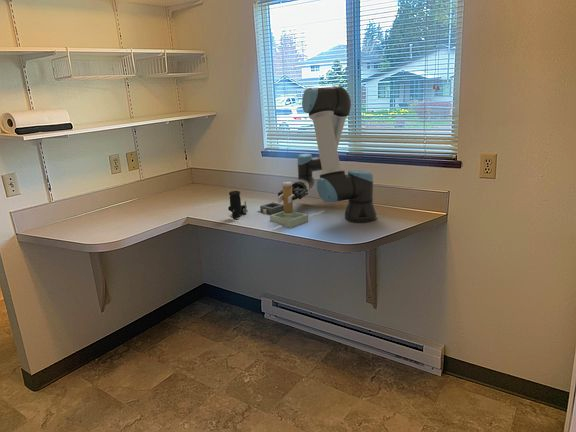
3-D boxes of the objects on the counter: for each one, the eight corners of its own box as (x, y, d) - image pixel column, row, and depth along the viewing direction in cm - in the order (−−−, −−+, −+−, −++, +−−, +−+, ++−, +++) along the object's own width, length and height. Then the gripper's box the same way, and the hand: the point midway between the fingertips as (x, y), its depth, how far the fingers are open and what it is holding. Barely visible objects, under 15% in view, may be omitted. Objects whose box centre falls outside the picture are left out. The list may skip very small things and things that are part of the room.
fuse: (295, 214, 214) (293, 182, 209) (288, 217, 211) (287, 184, 206) (288, 213, 217) (287, 181, 212) (281, 215, 214) (280, 183, 209)
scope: (246, 189, 225) (240, 194, 216) (248, 215, 229) (242, 221, 220) (230, 189, 227) (224, 194, 217) (233, 215, 231) (226, 220, 221)
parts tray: (308, 221, 214) (307, 214, 213) (290, 227, 206) (290, 220, 205) (287, 216, 224) (287, 209, 223) (270, 222, 216) (269, 215, 215)
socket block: (289, 212, 231) (288, 204, 230) (272, 217, 223) (271, 209, 222) (273, 208, 239) (272, 201, 238) (256, 213, 231) (256, 206, 230)
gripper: (316, 196, 226) (301, 208, 205) (284, 194, 231) (267, 206, 211) (315, 181, 223) (301, 193, 202) (283, 180, 229) (266, 191, 208)
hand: (283, 200), depth 207 cm, fingers closed on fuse, 4 cm apart
